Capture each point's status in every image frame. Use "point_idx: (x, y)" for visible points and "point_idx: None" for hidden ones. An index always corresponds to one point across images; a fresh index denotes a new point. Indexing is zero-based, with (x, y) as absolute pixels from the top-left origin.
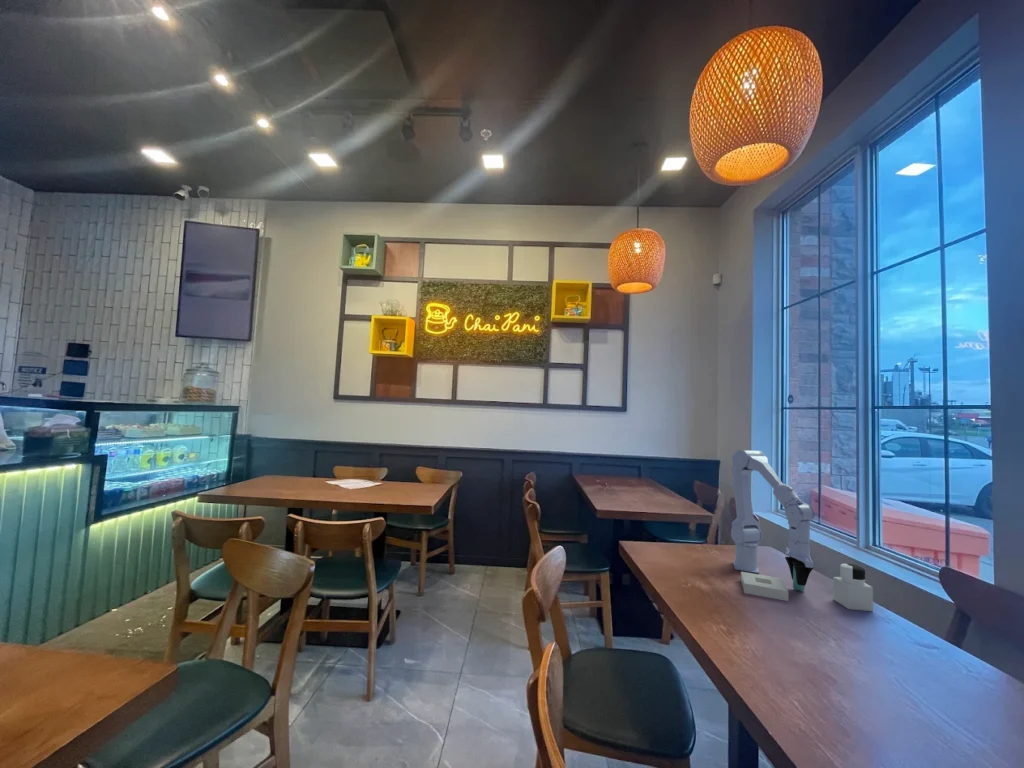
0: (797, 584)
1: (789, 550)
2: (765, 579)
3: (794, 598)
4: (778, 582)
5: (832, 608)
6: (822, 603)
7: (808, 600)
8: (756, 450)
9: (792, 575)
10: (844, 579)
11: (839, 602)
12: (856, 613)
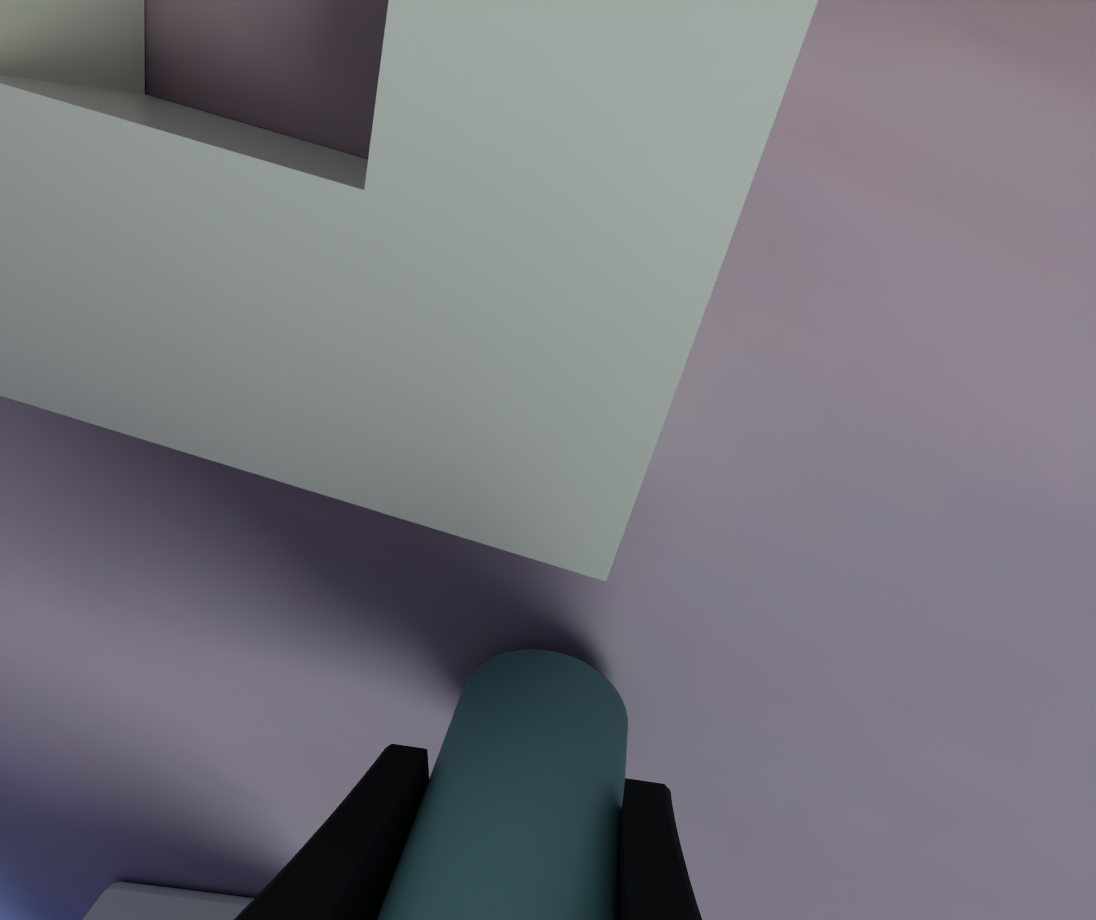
0: (450, 743)
1: None
2: (386, 37)
3: (149, 453)
4: (238, 349)
5: (46, 750)
6: (156, 732)
7: (174, 620)
8: None
9: (624, 868)
10: None
11: (230, 907)
12: (45, 884)
